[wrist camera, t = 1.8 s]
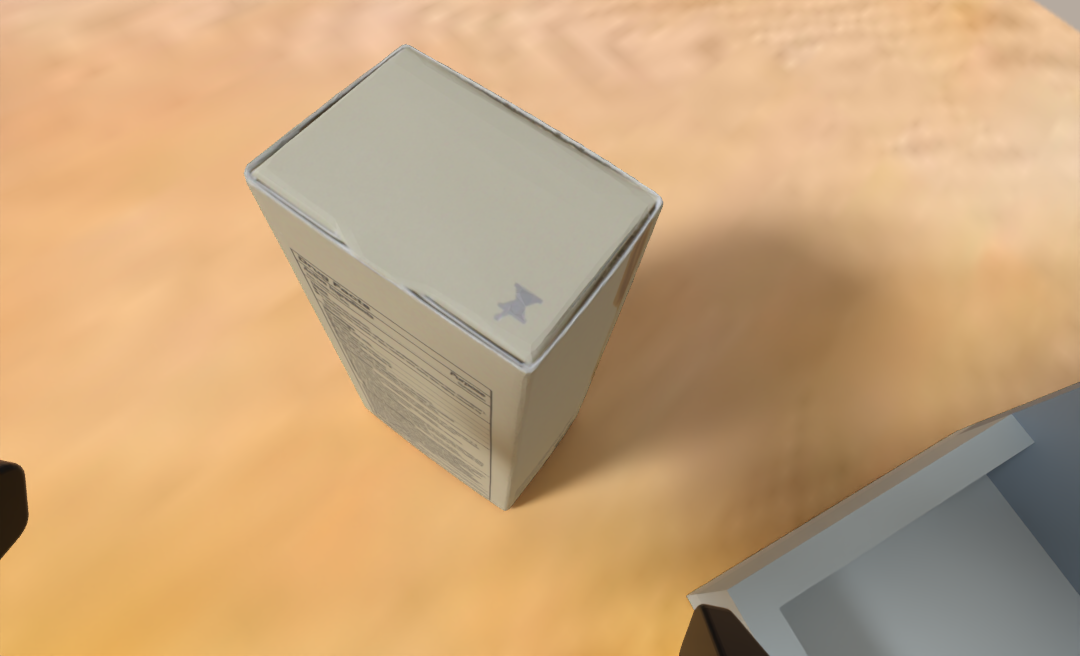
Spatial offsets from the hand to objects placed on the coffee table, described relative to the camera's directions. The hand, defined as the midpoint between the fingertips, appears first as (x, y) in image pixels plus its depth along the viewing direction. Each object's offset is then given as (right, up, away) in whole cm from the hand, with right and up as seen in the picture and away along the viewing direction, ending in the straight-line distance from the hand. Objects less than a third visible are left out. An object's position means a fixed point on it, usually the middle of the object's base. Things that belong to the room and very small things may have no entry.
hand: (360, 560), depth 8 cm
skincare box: (0, 0, +14) cm, 14 cm away
